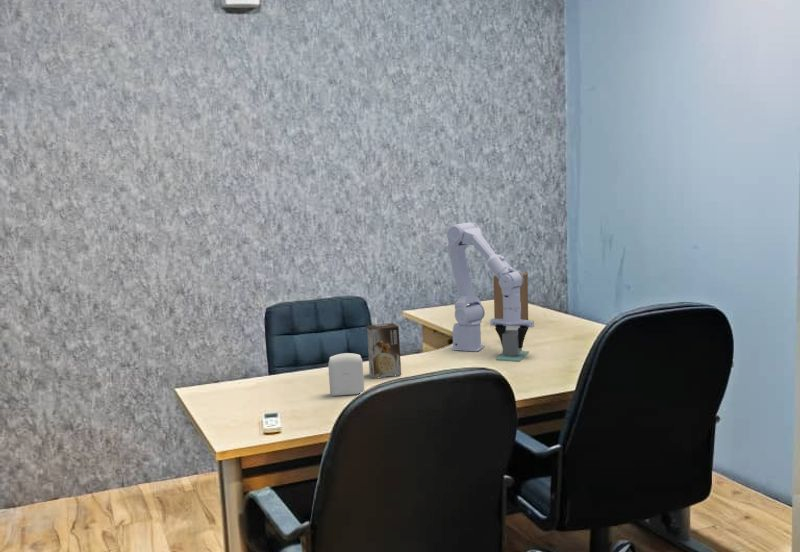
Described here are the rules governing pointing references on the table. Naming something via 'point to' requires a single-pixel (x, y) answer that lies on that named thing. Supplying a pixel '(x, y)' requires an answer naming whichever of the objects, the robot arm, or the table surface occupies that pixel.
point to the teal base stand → (512, 356)
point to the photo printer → (346, 374)
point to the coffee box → (384, 350)
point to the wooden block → (499, 298)
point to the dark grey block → (511, 343)
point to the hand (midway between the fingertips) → (512, 347)
